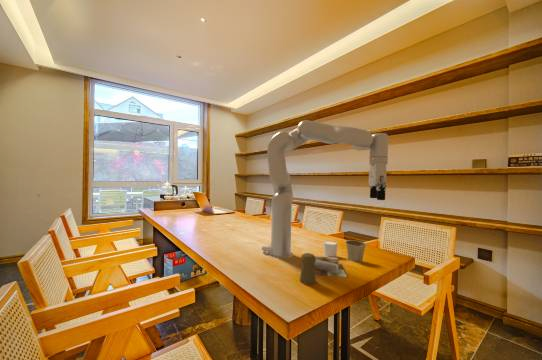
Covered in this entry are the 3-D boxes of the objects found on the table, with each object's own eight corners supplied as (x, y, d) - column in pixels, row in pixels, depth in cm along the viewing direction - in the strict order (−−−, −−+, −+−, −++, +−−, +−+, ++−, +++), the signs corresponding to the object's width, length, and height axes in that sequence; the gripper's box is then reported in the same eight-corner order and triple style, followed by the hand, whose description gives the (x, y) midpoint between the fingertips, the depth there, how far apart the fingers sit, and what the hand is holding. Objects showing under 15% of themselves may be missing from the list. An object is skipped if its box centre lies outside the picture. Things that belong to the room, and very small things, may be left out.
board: (303, 277, 91) (303, 266, 91) (302, 263, 105) (302, 254, 105) (348, 280, 89) (348, 269, 89) (341, 266, 103) (342, 257, 103)
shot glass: (329, 260, 110) (329, 245, 110) (319, 255, 117) (320, 241, 116) (340, 258, 114) (340, 243, 114) (330, 253, 120) (330, 240, 120)
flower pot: (367, 266, 104) (368, 246, 104) (345, 264, 106) (346, 245, 106) (363, 259, 114) (364, 241, 113) (343, 257, 115) (344, 239, 115)
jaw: (302, 265, 99) (302, 256, 99) (305, 263, 101) (305, 254, 101) (335, 274, 91) (336, 264, 90) (338, 272, 93) (338, 262, 93)
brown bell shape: (297, 280, 88) (298, 251, 87) (313, 280, 88) (314, 251, 88) (301, 288, 82) (301, 257, 81) (318, 288, 82) (319, 257, 82)
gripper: (364, 162, 115) (363, 197, 115) (376, 159, 98) (374, 200, 98) (380, 162, 114) (379, 197, 115) (395, 159, 97) (393, 201, 97)
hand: (377, 198), depth 106 cm, fingers open, 9 cm apart
